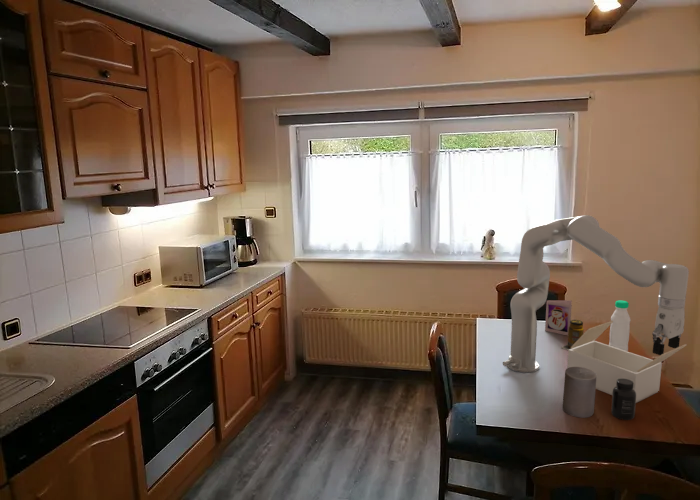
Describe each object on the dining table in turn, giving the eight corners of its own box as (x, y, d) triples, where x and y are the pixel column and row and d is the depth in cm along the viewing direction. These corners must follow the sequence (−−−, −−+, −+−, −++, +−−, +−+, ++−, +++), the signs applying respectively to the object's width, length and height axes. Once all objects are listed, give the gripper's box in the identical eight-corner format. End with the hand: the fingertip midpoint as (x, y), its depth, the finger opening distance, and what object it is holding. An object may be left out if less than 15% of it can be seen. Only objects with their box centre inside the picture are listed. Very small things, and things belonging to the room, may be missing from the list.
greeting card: (544, 331, 246) (545, 300, 243) (549, 326, 252) (551, 297, 249) (569, 336, 239) (571, 305, 236) (574, 331, 244) (576, 301, 241)
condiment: (586, 347, 226) (587, 321, 224) (577, 352, 220) (579, 326, 218) (569, 343, 231) (571, 317, 229) (561, 348, 225) (562, 322, 223)
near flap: (636, 371, 175) (637, 372, 175) (662, 354, 167) (663, 355, 167) (660, 360, 183) (661, 361, 182) (686, 343, 175) (687, 345, 174)
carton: (633, 404, 177) (636, 374, 175) (566, 376, 198) (568, 349, 196) (658, 391, 185) (661, 362, 183) (592, 366, 207) (593, 340, 205)
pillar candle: (557, 404, 178) (559, 363, 175) (584, 402, 179) (587, 362, 176) (571, 419, 169) (574, 376, 166) (600, 417, 169) (603, 374, 166)
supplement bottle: (636, 414, 170) (640, 380, 168) (631, 423, 165) (634, 388, 163) (614, 408, 175) (617, 374, 172) (608, 416, 170) (610, 382, 167)
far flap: (589, 329, 188) (588, 328, 189) (571, 348, 196) (570, 347, 196) (613, 321, 196) (612, 320, 196) (595, 339, 203) (594, 338, 204)
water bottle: (608, 355, 217) (613, 297, 212) (627, 358, 213) (632, 300, 208) (606, 361, 211) (611, 302, 206) (626, 364, 208) (631, 305, 203)
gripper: (669, 309, 162) (663, 360, 166) (697, 300, 171) (690, 348, 175) (645, 303, 168) (640, 353, 172) (673, 294, 177) (667, 341, 181)
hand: (665, 350), depth 173 cm, fingers open, 9 cm apart
